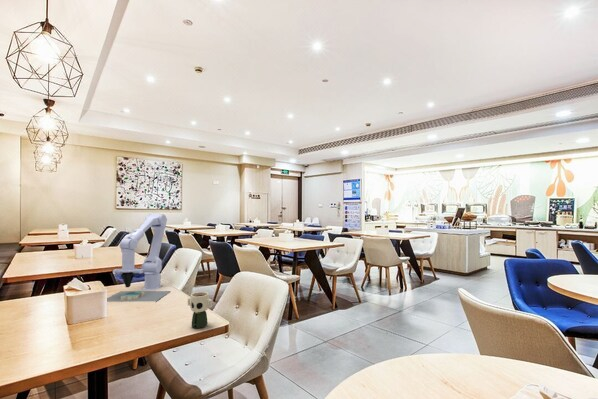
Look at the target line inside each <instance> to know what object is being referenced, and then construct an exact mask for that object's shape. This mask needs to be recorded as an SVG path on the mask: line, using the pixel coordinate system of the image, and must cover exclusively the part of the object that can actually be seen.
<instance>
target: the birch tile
mask: <svg viewBox="0 0 598 399" xmlns="http://www.w3.org/2000/svg"><path fill="white" fill-rule="evenodd" d="M130 291H131V292H129V293H127V294H125V295H123V296H121V300H136V299H138V298H139V297H141V296H143V295H144V291H145V290H130Z"/></svg>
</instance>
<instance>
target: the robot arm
mask: <svg viewBox="0 0 598 399" xmlns="http://www.w3.org/2000/svg"><path fill="white" fill-rule="evenodd" d="M167 221H168V218H167V216H166V215H165V214H164V213H159V214H158V213H157V214H156V213H154V214H153V213H148V215H147V216H145V220H144V222H143V223H142V224H141V225H140V226H139V227H138V228H136V229H133V230H132V232H131V233H130V234H129V235H128V236H127V237H126V238H123V239H122V240H121V241H120V243H119V248H120V252H121V255H122V256H121V268H115V269H113V272H112V274H120V277H121V279H122V280H123V282H124V286H125V288H130V287H131V284H132V281H133V279H134V277H135V275H136V274H144V287H143V288H141V291H157V289H159V288H161V287H162V286H163V285H162V284H161V282H162V281H161V279H162V277H161V273H160V272H161V271H162V268H163V265H162V262H163V261H162V259H161V258H160V252H161V248H162V244H163V243H162V242H163V239H164V233H165V230H166V226H167ZM150 228H151V229H153V230H154V231H153V235H152V240H151V246H150V250H149V255H148V256H146V258H144V260H143V262H142V264H141V268H135V264H136V263H135V259H136V258H135V256H136V254H135V252H136V251H135V250H136V249H137V248H138V246H139V245H138V244H139V242H140V240H142V239H143V238H144V236H145V232H147V231H148V230H149V229H150Z"/></svg>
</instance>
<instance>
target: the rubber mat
mask: <svg viewBox="0 0 598 399" xmlns="http://www.w3.org/2000/svg"><path fill="white" fill-rule="evenodd" d="M131 291H132V290H125V291H124V290H120V291H118V292H116V293H115V294H112V295H110V296H109V297H106V298H107V302H109V303H112V302H122V303H123V302H126V303H127V302H129V303H130V302H155V303H157V302H159V301H160V300H162V299H163V298H164V297H166V296H167V295H169V294H170V293H171V291H170V290H143V291H144V295H143V296H141V297H139V298H138V299H136V300H121V296H123V295H125V294H127V293H129V292H131ZM161 298H162V299H161Z"/></svg>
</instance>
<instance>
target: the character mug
mask: <svg viewBox="0 0 598 399" xmlns="http://www.w3.org/2000/svg"><path fill="white" fill-rule="evenodd" d="M187 306H189V307H190V311H192V319H191V327H192V328H197V329H198V328H204V327H206V326H207V325H208V323H209V321H208V316H207V311H208V310H209V308H212V307H213V300H212V299H211V298H210V294H209V292H208V291H196V292H193V293H191V294H190V297H188V298H187ZM195 326H196V327H195Z"/></svg>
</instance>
